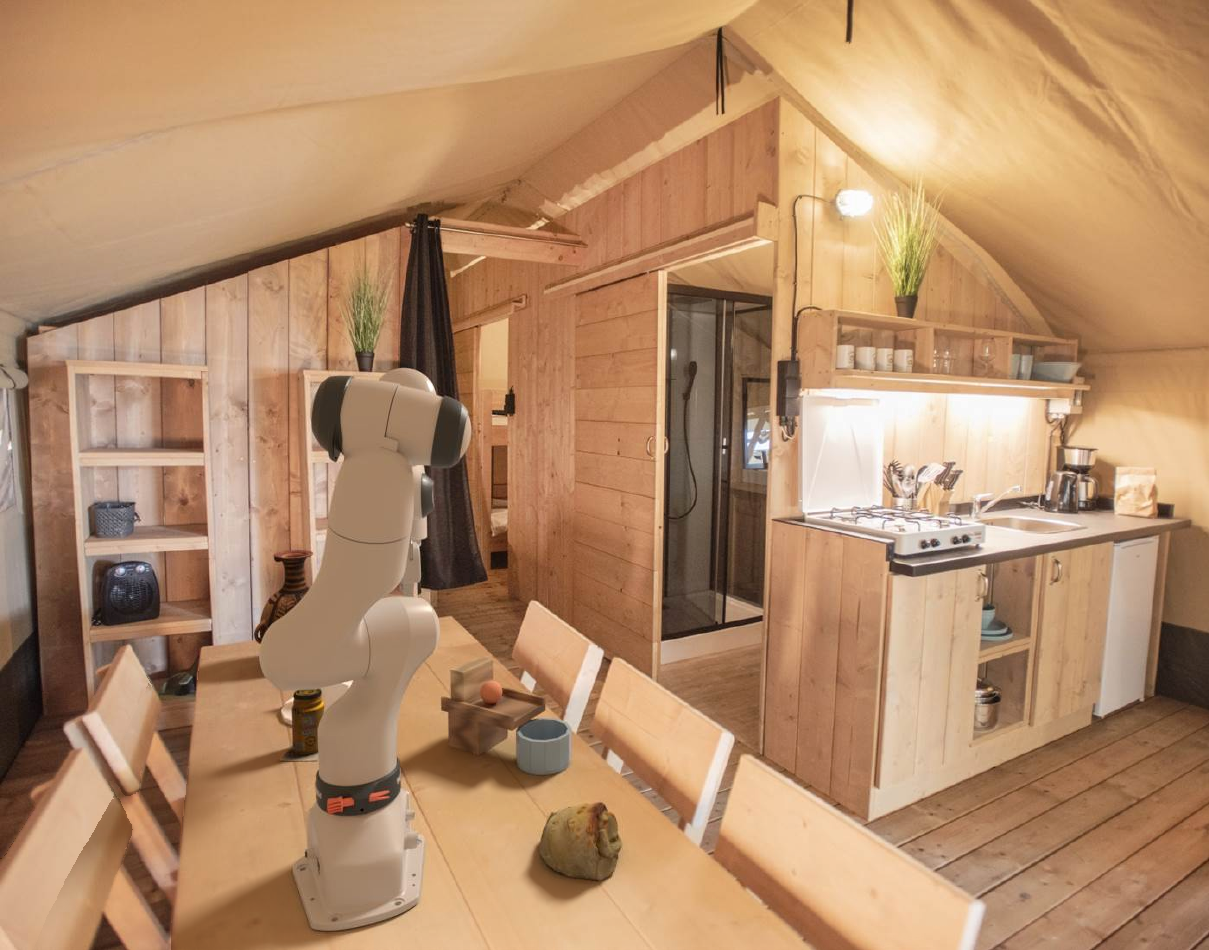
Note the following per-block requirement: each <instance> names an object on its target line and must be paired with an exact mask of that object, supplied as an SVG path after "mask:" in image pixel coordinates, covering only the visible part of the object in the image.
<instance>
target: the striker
mask: <svg viewBox="0 0 1209 950" xmlns="http://www.w3.org/2000/svg"><path fill="white" fill-rule="evenodd" d="M449 677H450V679H449V680H450V698H451V699H455V700H458V701H462V702H466V703H469V704H471V703H473V702H475V701H477V700H479V699H481V695H480V690H481V687H482V686H483V684H484V683H486V682H488V681H494V659H493V658H488V657H484V656H479V657H476V658H473V659H471V660H469V661H466V662H464V663H462V664H460V665H457V666H455V667H453V668H451V669H450V676H449Z"/></svg>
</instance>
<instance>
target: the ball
mask: <svg viewBox="0 0 1209 950" xmlns="http://www.w3.org/2000/svg"><path fill="white" fill-rule="evenodd" d="M502 687H503V686H502ZM502 687H501V684H500V683H499V682H497V681H495V680H493V681H488V682H486V683H484V684H483V686H482V687H481V690H480V695H481V698H482V699H483V701H485V702H486V703H490V704H492V703H495V702H497V701H498V700H499V699H500V698H501V696H502Z"/></svg>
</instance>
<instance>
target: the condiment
mask: <svg viewBox="0 0 1209 950" xmlns="http://www.w3.org/2000/svg"><path fill="white" fill-rule="evenodd" d="M293 697H294V700H293V706H292V725H291V733H292V734H291V735H292V740H291V742H292V746H291V747H290V748H289V749H288V750H287V751H286V752H285V753H284V754H283V756H281V757H280V759H279V761H283V762H284V761H285V762H307V761H308V762H311V761H313V762H314V761H315V762H316V761H318V726H319V723H320V720H321V718H322V716H323V715H324V702H323V701H322V691H321V689H320V688H319V689H313V690H295V691H294V693H293V695H292V698H293Z"/></svg>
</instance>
